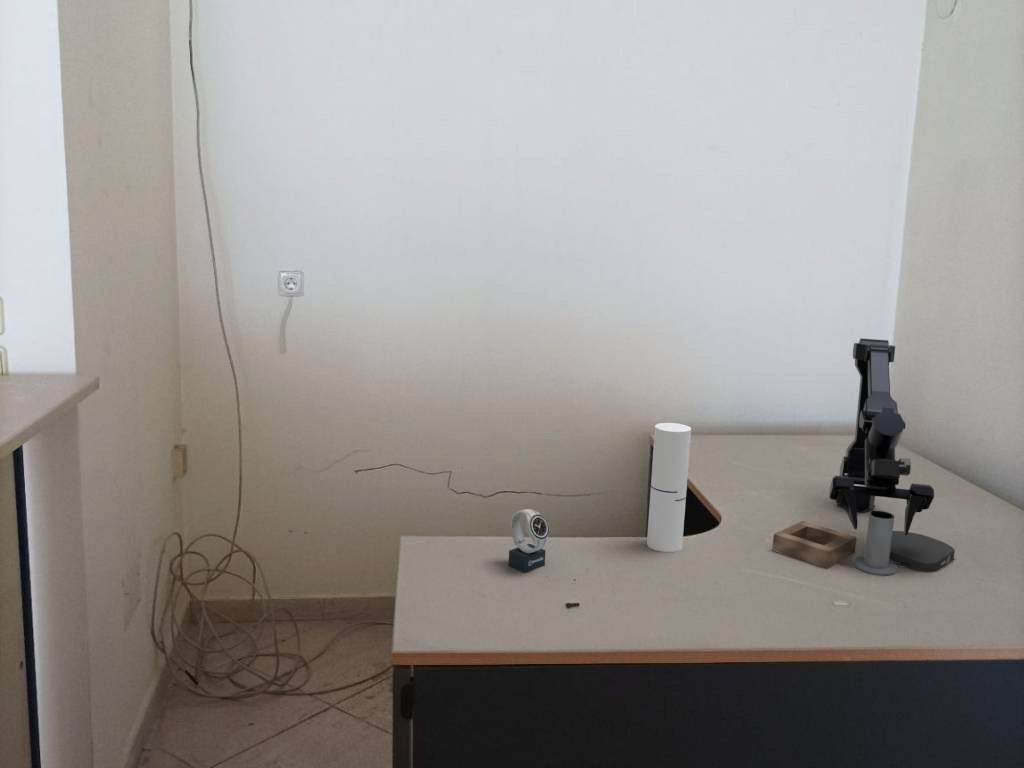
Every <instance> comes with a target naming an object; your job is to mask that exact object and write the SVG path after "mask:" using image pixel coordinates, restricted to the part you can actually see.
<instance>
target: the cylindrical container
mask: <svg viewBox="0 0 1024 768" xmlns="http://www.w3.org/2000/svg"><path fill="white" fill-rule="evenodd" d="M691 436H692V427H690V426H688V425H686V424H682V423H676V422H659V423H657V424H655V425H654V437H653V447H652V448H653V451H652V463H651V467H652V468H651V477H650V478H651V479H650V480H651V482H650V493H649V507H648V509H649V510H648V519H647V520H648V521H647V523H648V524H647V537H646V545H648V546H647V547H648V548H650V549H651V550H654V551H656V552H663V553H675V552H678V551H681V550H682V548H683V539H684V528H685V526H684V525H685V515H686V514H685V513H686V502H687V501H686V500H687V499H686V498H687V490H688V474H689V463H690V462H689V461H690V448H691V438H692V437H691Z"/></svg>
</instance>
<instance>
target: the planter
mask: <svg viewBox="0 0 1024 768" xmlns="http://www.w3.org/2000/svg"><path fill="white" fill-rule="evenodd" d="M894 523H895V515H894V514H893V513H891V512H888V511H883V510H871V511H870V512H869V513H868V525H867V532H866V539H865V546H864V547H865V548H864V549H865V550H864V555H863V556H864V563H865V564H866V565H868V566H870V567H874V568H886V567H888V564H889V556H890V548H891V540H892V533H893V531H894V530H893V529H894Z"/></svg>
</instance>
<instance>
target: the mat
mask: <svg viewBox="0 0 1024 768" xmlns="http://www.w3.org/2000/svg"><path fill="white" fill-rule="evenodd" d="M853 566H854V567H855V568H856V569H857V570H859V571H861V572H864V573H866V574H870V575H874V576H883V577H884V576H894V575H896V574H897V573H898V565H896V564H894V563H892V562H890V561H889V564H888V567H886V568H874V567H870V566H868V565H866V564H865V563H864V555H863V556H858V557H856V558H854V560H853Z"/></svg>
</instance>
